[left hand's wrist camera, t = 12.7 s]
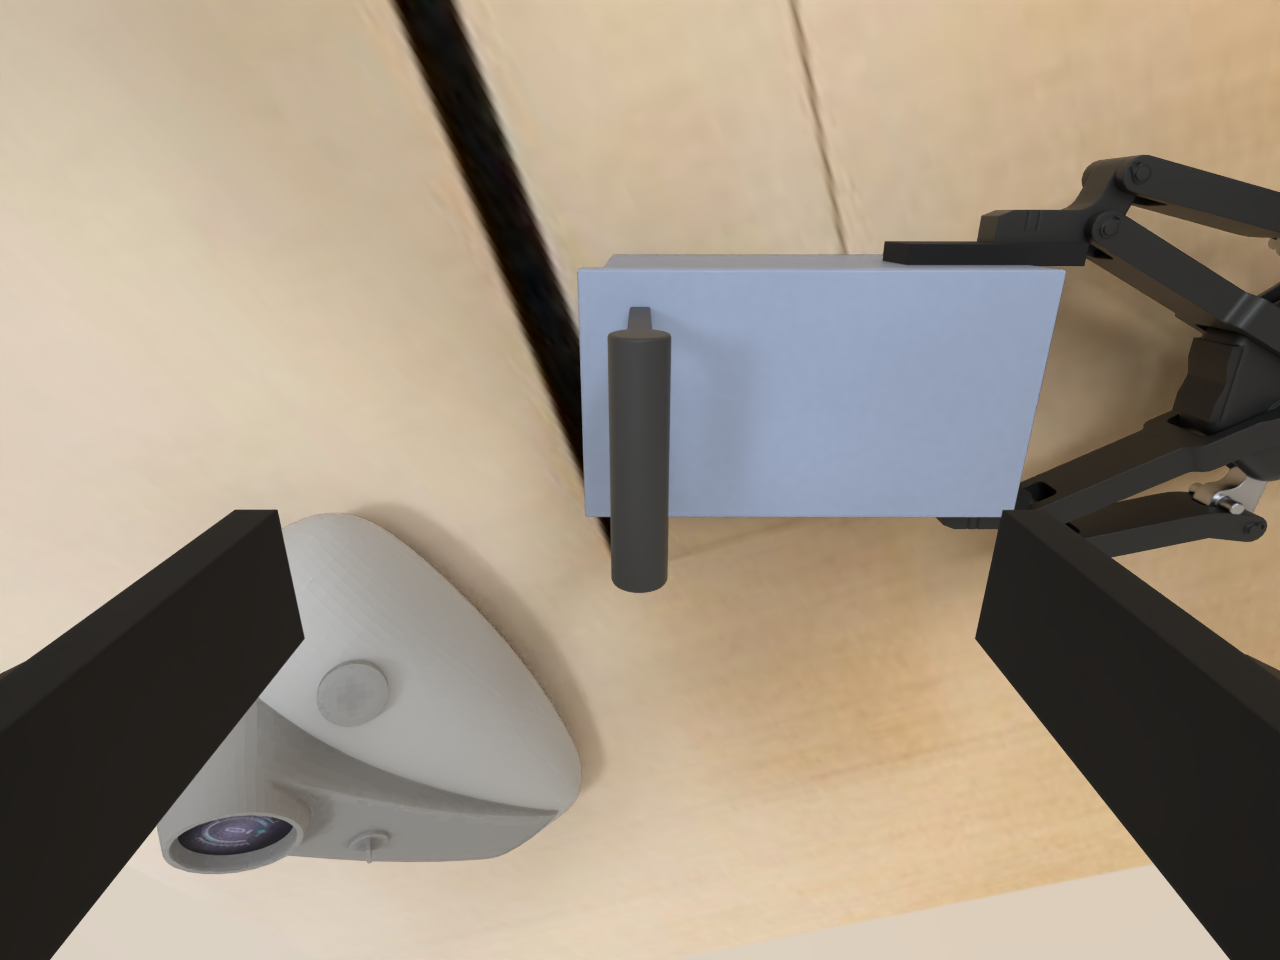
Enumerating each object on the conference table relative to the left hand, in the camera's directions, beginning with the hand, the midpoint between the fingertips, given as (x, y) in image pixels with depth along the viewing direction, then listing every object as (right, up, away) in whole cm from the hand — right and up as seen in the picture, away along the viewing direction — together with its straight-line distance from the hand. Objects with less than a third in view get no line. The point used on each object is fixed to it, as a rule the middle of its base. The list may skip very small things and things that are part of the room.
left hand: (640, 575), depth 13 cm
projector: (-13, -10, +28) cm, 32 cm away
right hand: (+10, +6, +15) cm, 19 cm away
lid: (+6, +5, +13) cm, 15 cm away
